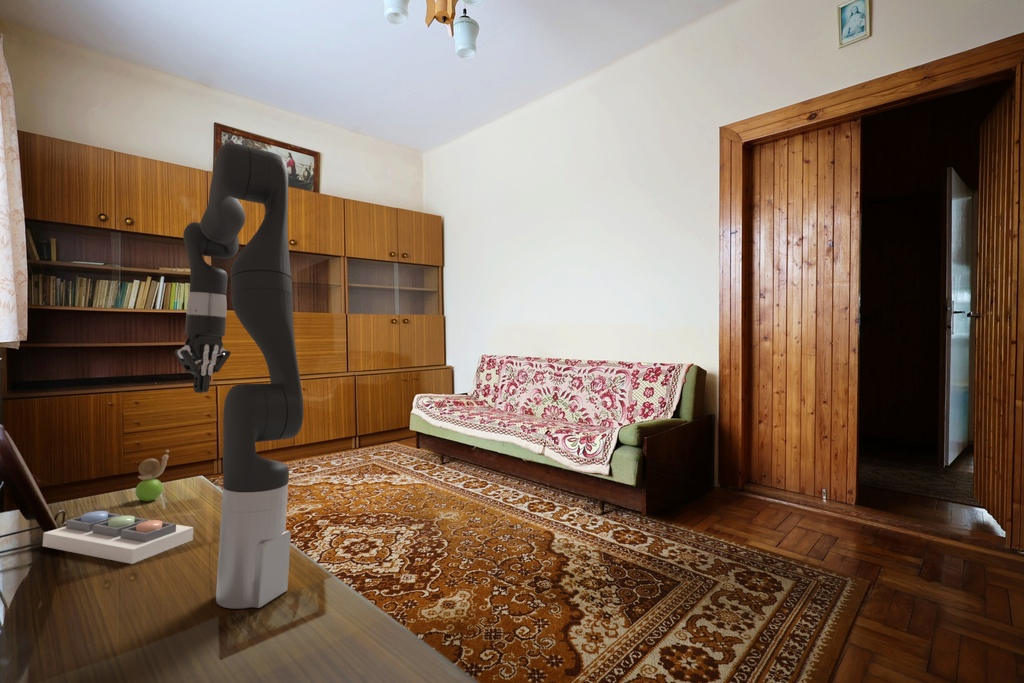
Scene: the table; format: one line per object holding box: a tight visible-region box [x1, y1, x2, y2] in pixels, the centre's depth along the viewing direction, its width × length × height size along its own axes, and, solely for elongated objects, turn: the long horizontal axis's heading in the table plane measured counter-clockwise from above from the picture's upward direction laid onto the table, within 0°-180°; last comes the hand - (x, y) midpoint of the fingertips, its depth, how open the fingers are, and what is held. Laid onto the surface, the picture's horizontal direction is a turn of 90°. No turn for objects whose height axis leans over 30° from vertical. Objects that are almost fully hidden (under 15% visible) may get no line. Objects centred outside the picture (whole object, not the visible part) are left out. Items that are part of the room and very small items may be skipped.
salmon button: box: [136, 519, 163, 533], centre depth 92 cm, size 4×4×2 cm
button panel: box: [42, 512, 194, 565], centre depth 94 cm, size 22×12×4 cm, turn 75°
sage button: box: [108, 515, 136, 528], centre depth 94 cm, size 4×4×2 cm
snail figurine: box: [135, 449, 170, 502], centre depth 121 cm, size 5×6×12 cm
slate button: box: [80, 510, 109, 523], centre depth 96 cm, size 4×4×2 cm
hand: (201, 392), depth 107 cm, fingers closed
